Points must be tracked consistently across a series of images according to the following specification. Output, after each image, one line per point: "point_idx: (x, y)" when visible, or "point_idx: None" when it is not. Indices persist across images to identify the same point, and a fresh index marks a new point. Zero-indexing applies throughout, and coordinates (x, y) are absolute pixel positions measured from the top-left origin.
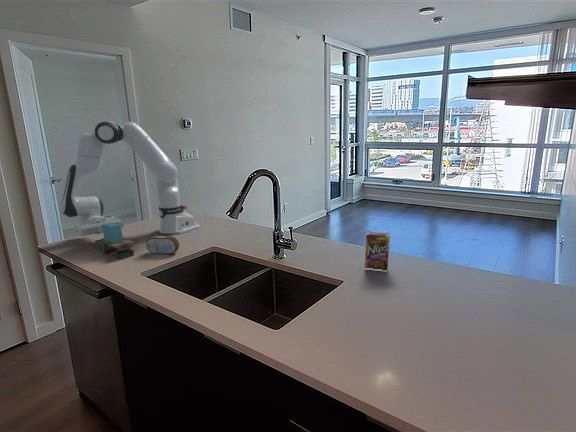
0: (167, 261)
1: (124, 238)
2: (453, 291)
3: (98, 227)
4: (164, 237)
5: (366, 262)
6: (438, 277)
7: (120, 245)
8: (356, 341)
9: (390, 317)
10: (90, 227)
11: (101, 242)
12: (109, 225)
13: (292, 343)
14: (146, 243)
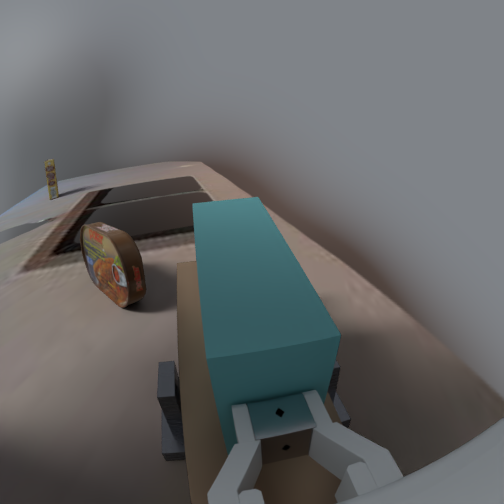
0: (153, 253)
1: (163, 381)
2: (76, 183)
3: (392, 471)
4: (102, 225)
5: (57, 188)
6: None
7: None
8: (167, 171)
9: (130, 176)
10: (493, 426)
11: (339, 419)
12: (260, 226)
13: (195, 172)
14: (142, 264)
